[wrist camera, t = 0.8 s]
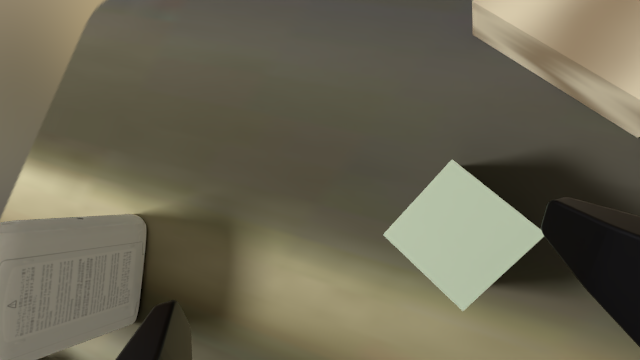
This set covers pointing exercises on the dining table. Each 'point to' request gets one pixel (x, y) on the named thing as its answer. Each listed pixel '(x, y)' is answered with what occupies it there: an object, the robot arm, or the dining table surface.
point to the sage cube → (462, 235)
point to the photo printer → (67, 281)
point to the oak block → (573, 48)
